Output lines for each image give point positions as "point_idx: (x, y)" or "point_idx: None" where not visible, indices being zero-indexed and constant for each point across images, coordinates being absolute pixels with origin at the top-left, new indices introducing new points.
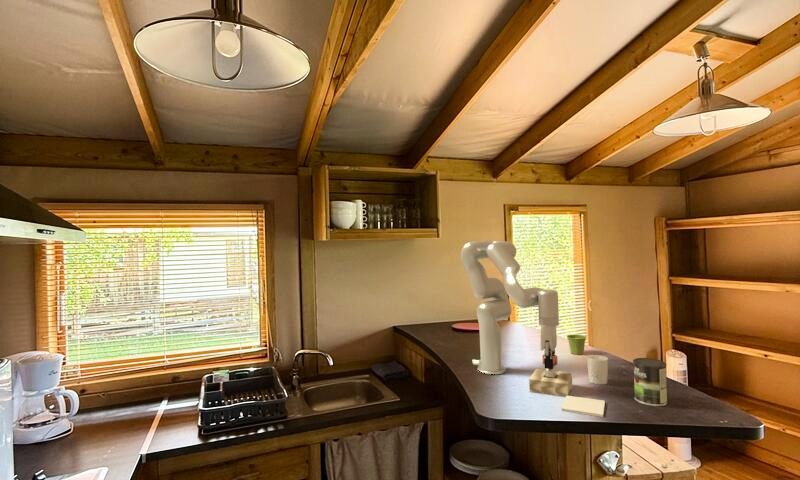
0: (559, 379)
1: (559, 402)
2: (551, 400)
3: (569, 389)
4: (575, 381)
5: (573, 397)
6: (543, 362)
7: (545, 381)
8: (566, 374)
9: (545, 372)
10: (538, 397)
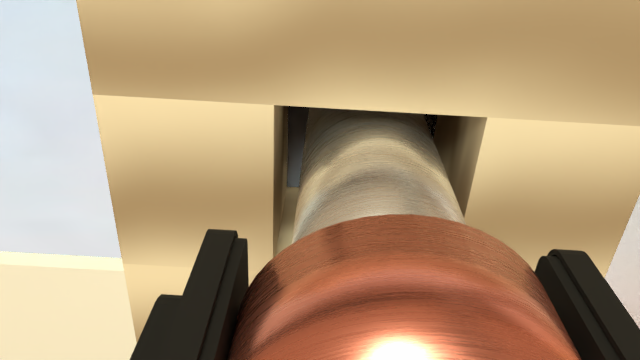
0: None
1: (20, 219)
2: (23, 155)
3: None
4: (627, 307)
5: None
6: (300, 258)
7: (106, 155)
8: None
9: (337, 164)
10: (23, 25)
